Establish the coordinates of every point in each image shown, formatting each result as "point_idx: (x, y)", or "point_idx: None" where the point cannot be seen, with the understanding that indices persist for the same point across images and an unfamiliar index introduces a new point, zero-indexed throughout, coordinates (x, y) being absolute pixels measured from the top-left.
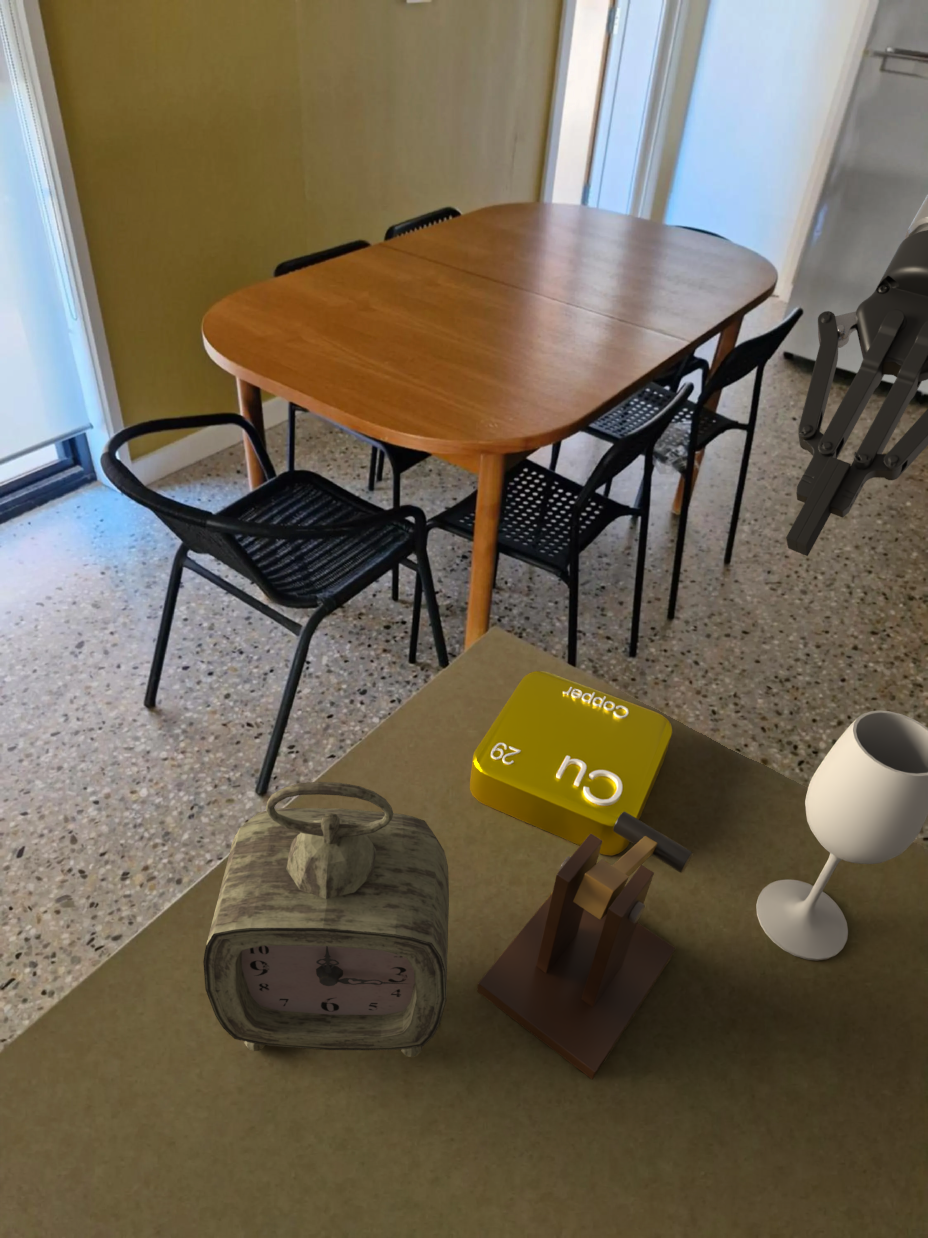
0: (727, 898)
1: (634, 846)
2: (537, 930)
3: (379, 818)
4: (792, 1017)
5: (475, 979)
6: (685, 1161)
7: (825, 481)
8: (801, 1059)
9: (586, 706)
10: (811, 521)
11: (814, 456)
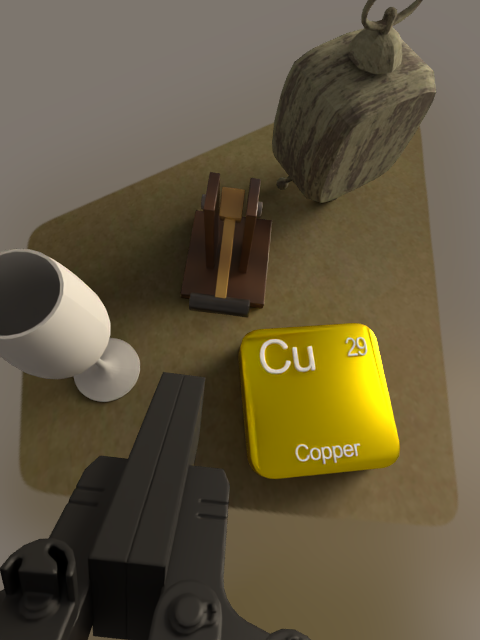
0: (160, 357)
1: (227, 274)
2: (260, 262)
3: (374, 101)
4: (102, 298)
5: (275, 231)
6: (141, 205)
7: (158, 484)
8: (94, 277)
9: (332, 440)
10: (166, 403)
11: (218, 582)
